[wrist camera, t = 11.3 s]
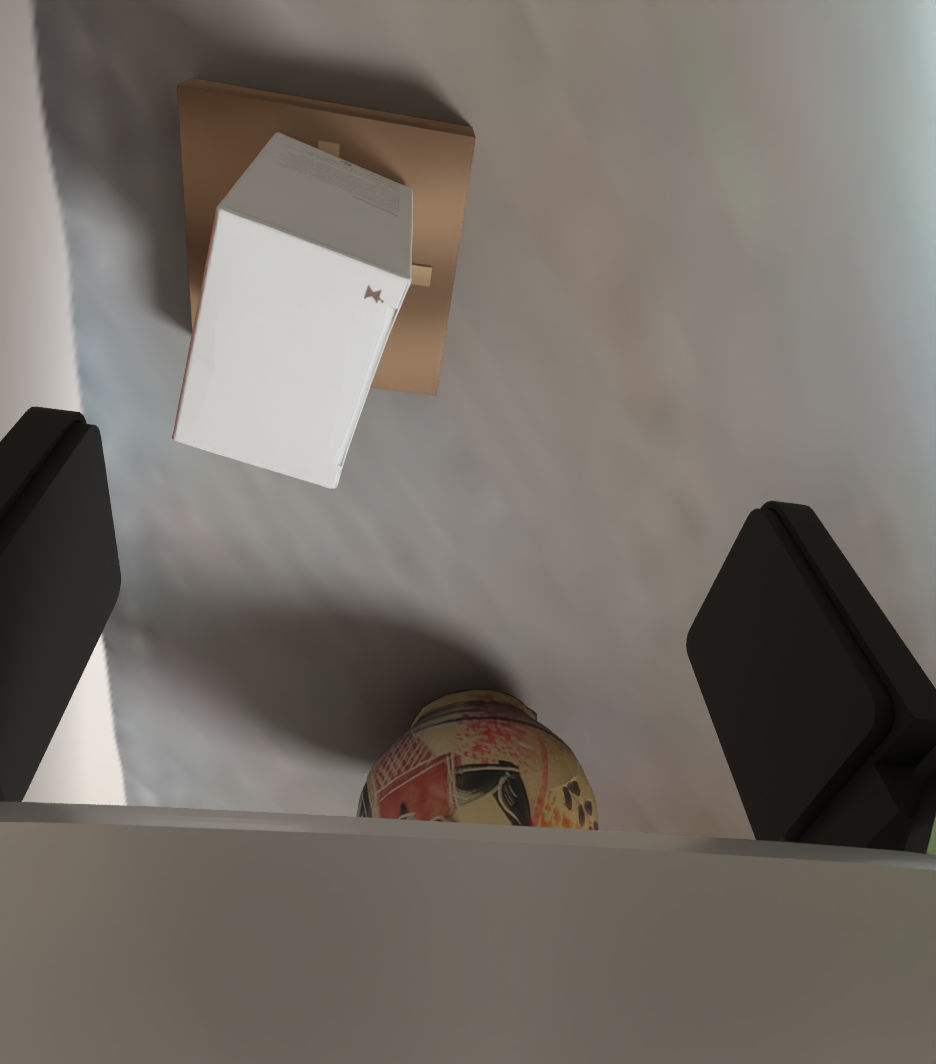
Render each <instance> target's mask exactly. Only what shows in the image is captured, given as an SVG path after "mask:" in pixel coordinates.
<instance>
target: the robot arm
mask: <svg viewBox="0 0 936 1064" xmlns="http://www.w3.org/2000/svg"><path fill="white" fill-rule="evenodd" d="M120 585H121V573H120V566H119V559H118V552H117V545H116V538H115V531H114V524H113V517H112V510H111V503H110V496H109V489H108V482H107V475H106V468H105V461H104V455H103V448H102V441H101V435H100V431H99V429H98V427H97V426H96V425H90V424H87V423H86V420H85V418H84V416H83V415H82V414H81V413H80V412H74V411H66V410H58V409H51V408H42V407H31V408H30V409H28V410H27V412H25V414H24V415H23V416H22V417H21V418H20V419H19V421H18V422H17V423H16V424H15V425H14V427H13V428H12V429H11V430H10V431H9V432H8V433H7V435H6V436H5V437H4V438H3V439H2V440H1V442H0V1064H936V689H935V687H934V686H933V684H932V683H931V681H930V680H929V679H928V677H927V676H926V674H925V673H924V671H923V670H922V668H921V667H920V665H919V664H918V663H917V661H916V660H915V658H914V657H913V655H912V654H911V652H910V651H909V649H908V648H907V647H906V645H905V644H904V642H903V641H902V639H901V638H900V636H899V635H898V633H897V632H896V630H895V629H894V628H893V626H892V625H891V623H890V622H889V620H888V619H887V617H886V616H885V614H884V613H883V612H882V610H881V609H880V607H879V606H878V604H877V603H876V601H875V600H874V598H873V597H872V596H871V594H870V593H869V591H868V590H867V588H866V587H865V585H864V584H863V582H862V581H861V579H860V578H859V577H858V575H857V574H856V572H855V571H854V569H853V568H852V566H851V565H850V563H849V562H848V561H847V559H846V558H845V556H844V555H843V553H842V552H841V550H840V549H839V547H838V546H837V544H836V543H835V542H834V540H833V539H832V537H831V536H830V534H829V533H828V531H827V530H826V528H825V527H824V526H823V524H822V523H821V521H820V520H819V518H818V517H817V515H816V514H815V512H814V511H813V510H812V509H811V508H810V507H809V506H806V505H801V504H793V503H785V502H777V501H769V502H766V503H765V504H764V505H763V506H762V507H761V508H760V509H754V510H753V511H752V512H751V513H750V514H749V516H748V517H747V519H746V521H745V523H744V525H743V527H742V529H741V531H740V533H739V535H738V537H737V539H736V541H735V542H734V544H733V546H732V548H731V550H730V552H729V554H728V556H727V558H726V560H725V562H724V564H723V566H722V568H721V570H720V572H719V574H718V575H717V577H716V579H715V581H714V583H713V585H712V587H711V589H710V591H709V593H708V595H707V597H706V599H705V601H704V603H703V605H702V606H701V608H700V610H699V612H698V614H697V616H696V618H695V620H694V622H693V624H692V626H691V628H690V630H689V632H688V636H687V643H686V647H687V653H688V657H689V659H690V662H691V665H692V668H693V670H694V673H695V676H696V678H697V681H698V684H699V687H700V689H701V692H702V695H703V697H704V700H705V703H706V705H707V708H708V711H709V714H710V716H711V719H712V722H713V724H714V727H715V730H716V733H717V735H718V738H719V741H720V743H721V746H722V749H723V751H724V754H725V757H726V760H727V762H728V765H729V768H730V770H731V773H732V776H733V779H734V781H735V784H736V787H737V789H738V792H739V795H740V797H741V800H742V803H743V806H744V808H745V811H746V814H747V816H748V819H749V822H750V825H751V827H752V830H753V833H754V835H755V838H756V840H746V839H730V838H714V837H697V836H681V835H665V834H648V833H632V832H616V831H599V830H581V829H564V828H546V827H528V826H511V825H493V824H475V823H457V822H439V821H421V820H403V819H385V818H366V817H346V816H327V815H307V814H287V813H268V812H248V811H228V810H209V809H189V808H169V807H148V806H119V805H91V804H90V805H89V804H63V803H34V802H21V801H22V800H23V798H24V796H25V794H26V792H27V790H28V788H29V785H30V784H31V781H32V779H33V777H34V775H35V773H36V771H37V768H38V766H39V764H40V762H41V760H42V758H43V756H44V754H45V752H46V750H47V748H48V745H49V743H50V741H51V739H52V737H53V735H54V733H55V730H56V728H57V726H58V724H59V722H60V720H61V718H62V716H63V714H64V711H65V709H66V707H67V705H68V703H69V701H70V699H71V697H72V694H73V692H74V690H75V688H76V686H77V684H78V682H79V680H80V678H81V676H82V673H83V671H84V669H85V667H86V665H87V663H88V661H89V659H90V656H91V654H92V652H93V650H94V648H95V646H96V644H97V642H98V640H99V637H100V635H101V633H102V631H103V629H104V627H105V625H106V623H107V620H108V618H109V616H110V614H111V612H112V610H113V608H114V606H115V604H116V601H117V599H118V596H119V592H120Z"/></svg>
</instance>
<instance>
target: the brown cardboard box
mask: <svg viewBox="0 0 936 1064" xmlns="http://www.w3.org/2000/svg"><path fill="white" fill-rule="evenodd" d="M177 93H178V109H179V125H180V141H181V157H182V173H183V189H184V205H185V221H186V237H187V253H188V269H189V285H190V301H191V317H192V332H193V327H194V322H195V316H196V311H197V306H198V301H199V295H200V290H201V285H202V280H203V275H204V270H205V264H206V259H207V254H208V249H209V244H210V238H211V233H212V228H213V223H214V218H215V212H216V207H217V206H218V205H219V204H220V203H221V201H222V200H223V199H224V198H225V196H226V195H227V194H228V193H229V191H230V190H231V189H232V187H233V186H234V185H235V183H236V182H237V181H238V180H239V179H240V177H241V176H242V175H243V173H244V172H245V171H246V170H247V168H248V167H249V166H250V164H251V163H252V162H253V161H254V159H255V158H256V157H257V156H258V154H259V153H260V152H261V150H262V149H263V148H264V147H265V145H266V144H267V143H268V142H269V140H270V139H271V138H272V137H273V136H274V134H275V133H277V132H279V133H282V134H284V135H286V136H288V137H291V138H293V139H296V140H298V141H300V142H303V143H305V144H307V145H310V146H312V147H315V148H317V149H319V150H322V151H324V152H326V153H329V154H331V155H334V156H336V157H338V158H341V159H343V160H345V161H348V162H350V163H352V164H355V165H357V166H359V167H362V168H364V169H366V170H369V171H371V172H373V173H376V174H378V175H381V176H383V177H385V178H388V179H390V180H392V181H394V182H397V183H399V184H402V185H404V186H407V187H409V188H411V189H412V190H413V234H412V267H411V278H412V279H411V284H410V287H409V289H408V291H407V293H406V295H405V298H404V300H403V303H402V305H401V307H400V310H399V312H398V315H397V317H396V320H395V322H394V325H393V327H392V329H391V332H390V334H389V337H388V340H387V342H386V345H385V348H384V351H383V353H382V356H381V359H380V362H379V364H378V367H377V370H376V373H375V375H374V378H373V381H372V383H371V386H370V388H378V389H386V390H394V391H402V392H410V393H418V394H426V395H434V396H437V390H438V383H439V377H440V370H441V363H442V357H443V350H444V344H445V337H446V330H447V324H448V317H449V310H450V304H451V297H452V291H453V284H454V277H455V271H456V264H457V258H458V251H459V244H460V238H461V231H462V224H463V218H464V211H465V205H466V198H467V191H468V185H469V178H470V171H471V165H472V158H473V152H474V145H475V138H476V137H475V134H474V131H473V128H472V127H469V126H463V125H458V124H452V123H446V122H440V121H435V120H429V119H423V118H418V117H412V116H406V115H401V114H395V113H389V112H384V111H378V110H372V109H367V108H361V107H355V106H349V105H344V104H338V103H332V102H327V101H321V100H315V99H310V98H304V97H298V96H293V95H287V94H281V93H275V92H270V91H264V90H258V89H253V88H247V87H241V86H236V85H230V84H224V83H219V82H213V81H207V80H201V79H196V78H192V79H190V80H188V81H186V82H184V83H182V84H180V85H178V86H177Z"/></svg>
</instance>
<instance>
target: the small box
mask: <svg viewBox="0 0 936 1064" xmlns="http://www.w3.org/2000/svg"><path fill="white" fill-rule="evenodd" d="M412 234H413V190H412V189H411V188H409V187H407V186H404V185H402V184H399V183H397V182H394V181H392V180H390V179H388V178H385V177H383V176H381V175H378V174H376V173H373V172H371V171H369V170H366V169H364V168H362V167H359V166H357V165H355V164H352V163H350V162H348V161H345V160H343V159H341V158H338V157H336V156H334V155H331V154H329V153H326V152H324V151H322V150H319V149H317V148H315V147H312V146H310V145H307V144H305V143H303V142H300V141H298V140H296V139H293V138H291V137H288V136H286V135H284V134H282V133H279V132H277V133H275V134H274V136H273V137H272V138H271V139H270V140H269V142H268V143H267V144H266V145H265V147H264V148H263V149H262V150H261V152H260V153H259V154H258V156H257V157H256V158H255V159H254V161H253V162H252V163H251V164H250V166H249V167H248V168H247V170H246V171H245V172H244V173H243V175H242V176H241V177H240V179H239V180H238V181H237V182H236V183H235V185H234V186H233V187H232V189H231V190H230V191H229V193H228V194H227V195H226V196H225V198H224V199H223V200H222V201H221V203H220V204H219V205H218V206H217V207H216V212H215V218H214V223H213V228H212V233H211V238H210V244H209V249H208V254H207V259H206V264H205V270H204V275H203V280H202V285H201V290H200V295H199V301H198V306H197V311H196V316H195V322H194V327H193V332H192V337H191V342H190V348H189V353H188V358H187V363H186V369H185V374H184V379H183V385H182V390H181V395H180V400H179V405H178V410H177V416H176V421H175V427H174V431H173V436H172V439H173V440H174V441H177V442H180V443H184V444H187V445H190V446H193V447H196V448H199V449H202V450H205V451H209V452H212V453H215V454H219V455H222V456H225V457H229V458H232V459H235V460H239V461H242V462H245V463H248V464H252V465H255V466H258V467H262V468H265V469H268V470H272V471H275V472H278V473H282V474H285V475H288V476H292V477H295V478H298V479H301V480H305V481H308V482H311V483H314V484H317V485H320V486H324V487H327V488H330V489H333V488H336V487H337V485H338V482H339V478H340V474H341V471H342V468H343V464H344V461H345V458H346V455H347V452H348V449H349V446H350V443H351V440H352V437H353V434H354V431H355V428H356V425H357V423H358V420H359V417H360V414H361V411H362V409H363V406H364V403H365V400H366V397H367V395H368V392H369V389H370V386H371V383H372V381H373V378H374V375H375V373H376V370H377V367H378V364H379V362H380V359H381V356H382V353H383V351H384V348H385V345H386V342H387V340H388V337H389V334H390V332H391V329H392V327H393V325H394V322H395V320H396V317H397V315H398V312H399V310H400V307H401V305H402V303H403V300H404V298H405V295H406V293H407V291H408V289H409V287H410V284H411V279H412V278H411V267H412Z"/></svg>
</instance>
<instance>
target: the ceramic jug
mask: <svg viewBox="0 0 936 1064" xmlns="http://www.w3.org/2000/svg"><path fill="white" fill-rule="evenodd" d="M365 776H366V774H365ZM357 817H366V818H385V819H403V820H421V821H439V822H457V823H475V824H493V825H511V826H528V827H546V828H564V829H581V830H598V812H597V806H596V800H595V796H594V794H593V791H592V788H591V786H590V784H589V782H588V780H587V778H586V776H585V773H584V771H583V769H582V767H581V765H580V764H579V762H578V760H577V758H576V757H575V755H574V753H573V752H572V750H571V749H570V748H569V747H568V746H567V745H566V744H565V743H564V741H563V740H561V739H560V738H559V737H558V736H557V735H555V734H554V733H553V732H552V731H551V730H549V729H548V728H547V727H545V726H544V725H542V724H541V723H539V722H538V721H537V714H536V713H535V712H533V711H531V710H529V709H527V707H526V706H525V705H524V704H523V703H522V702H520V701H519V700H517V699H516V698H514V697H513V696H511V695H507V694H504V693H501V692H497V691H490V690H470V691H464V692H457V693H451V694H448V695H446V696H443V697H441V698H439V699H437V700H435V701H433V702H431V703H429V704H428V705H427V706H425V707H424V708H423V709H422V710H421V711H420V713H419V714H418V715H417V717H416V718H415V720H414V721H413V723H412V725H411V728H410V729H409V730H408V731H406V732H405V733H404V734H403V735H401V736H400V737H399V738H398V739H397V740H395V741H394V742H393V743H392V744H391V745H390V746H389V747H388V748H387V749H386V750H385V751H384V752H383V753H382V754H381V755H380V756H379V758H378V759H377V761H376V762H375V764H374V765H373V767H372V769H371V771H370V773H369V775H368V776H367V781H366V783H365V785H364V787H363V790H362V792H361V796H360V799H359V805H358V810H357Z"/></svg>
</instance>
